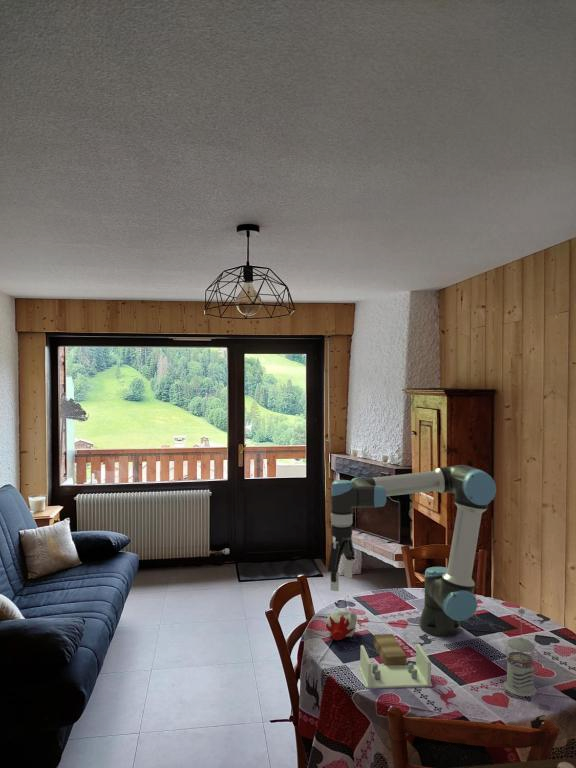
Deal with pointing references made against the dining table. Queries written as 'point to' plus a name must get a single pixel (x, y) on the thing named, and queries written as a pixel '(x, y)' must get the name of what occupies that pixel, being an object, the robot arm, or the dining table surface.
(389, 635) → the brown long block
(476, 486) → the robot arm
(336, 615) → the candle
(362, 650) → the shelf frame
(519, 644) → the french press
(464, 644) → the dining table surface
